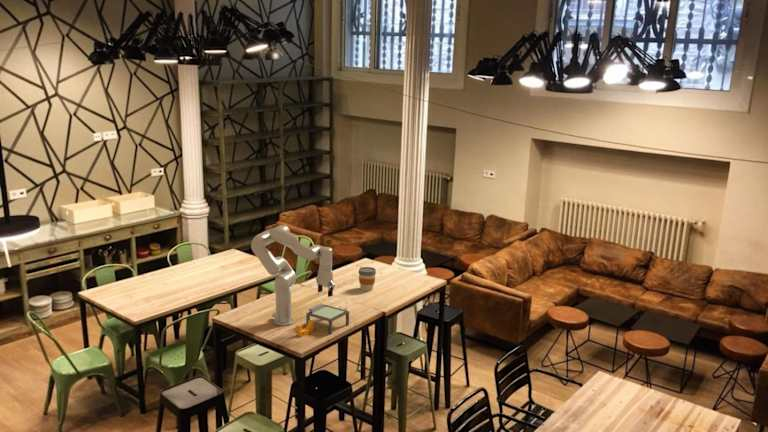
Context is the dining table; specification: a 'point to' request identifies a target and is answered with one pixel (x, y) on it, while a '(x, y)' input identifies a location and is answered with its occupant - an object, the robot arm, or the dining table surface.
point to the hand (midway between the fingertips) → (325, 294)
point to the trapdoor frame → (329, 319)
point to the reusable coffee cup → (367, 278)
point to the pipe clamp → (305, 329)
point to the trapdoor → (325, 311)
